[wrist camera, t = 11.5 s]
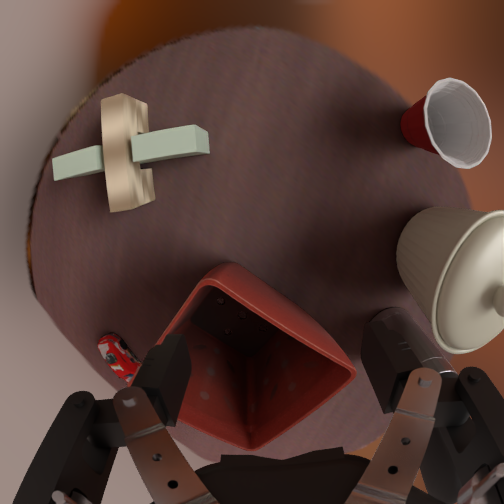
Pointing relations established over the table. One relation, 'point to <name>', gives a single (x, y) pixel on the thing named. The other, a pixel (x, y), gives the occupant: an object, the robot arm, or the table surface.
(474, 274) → the canister
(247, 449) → the plant pot
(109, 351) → the race car
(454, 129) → the plastic cup
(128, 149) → the slotted plate
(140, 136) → the notched board
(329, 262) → the table surface
